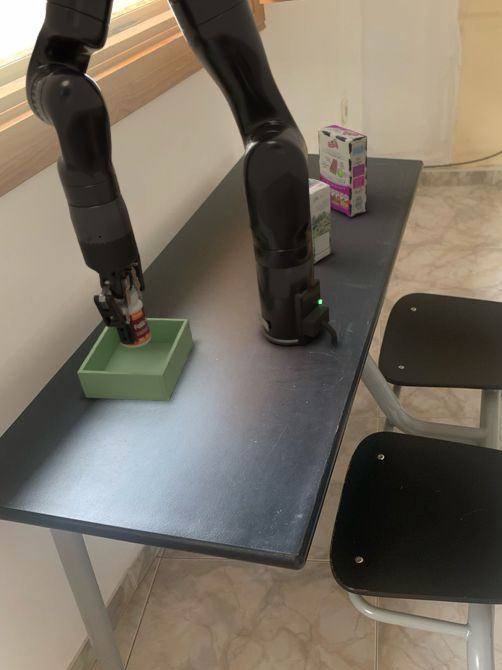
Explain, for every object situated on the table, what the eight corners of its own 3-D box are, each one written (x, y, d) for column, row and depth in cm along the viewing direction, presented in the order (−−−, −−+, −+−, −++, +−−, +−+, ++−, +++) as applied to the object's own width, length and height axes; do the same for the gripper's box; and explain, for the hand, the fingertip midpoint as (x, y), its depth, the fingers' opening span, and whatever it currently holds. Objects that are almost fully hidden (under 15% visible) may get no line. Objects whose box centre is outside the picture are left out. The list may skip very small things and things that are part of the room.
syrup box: (310, 246, 136) (306, 176, 126) (332, 254, 133) (330, 183, 124) (292, 257, 133) (286, 186, 123) (314, 265, 130) (310, 193, 120)
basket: (193, 343, 112) (188, 318, 108) (168, 400, 101) (162, 375, 97) (118, 341, 113) (111, 317, 110) (86, 397, 102) (76, 372, 99)
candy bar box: (368, 211, 147) (368, 135, 136) (350, 218, 145) (349, 141, 134) (336, 196, 154) (334, 123, 143) (319, 202, 152) (316, 128, 141)
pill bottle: (145, 349, 100) (131, 301, 95) (116, 348, 101) (100, 300, 96) (156, 332, 104) (143, 284, 98) (128, 330, 105) (113, 283, 99)
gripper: (113, 253, 85) (144, 360, 96) (145, 205, 95) (170, 307, 106) (57, 253, 85) (95, 360, 97) (95, 206, 96) (125, 308, 107)
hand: (134, 332), depth 102 cm, fingers closed on pill bottle, 4 cm apart
